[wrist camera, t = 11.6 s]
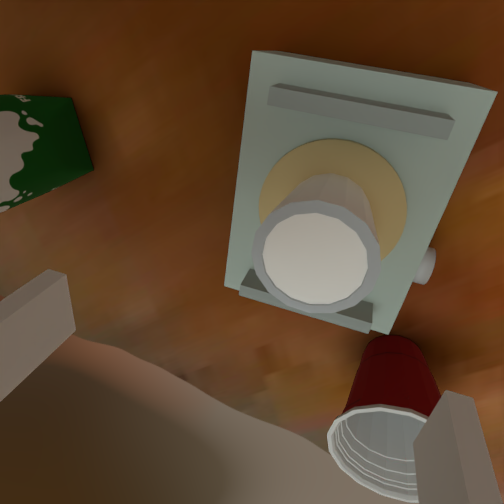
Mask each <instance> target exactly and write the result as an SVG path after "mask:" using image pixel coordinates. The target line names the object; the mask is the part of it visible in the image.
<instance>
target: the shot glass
mask: <svg viewBox="0 0 504 504" xmlns="http://www.w3.org/2000/svg"><path fill="white" fill-rule="evenodd" d="M251 255H252V259H253V264H254V268H255V272H256V275H257V276H258V278H259V279H260V281H261V282H262V284H263V285H264V286H265V288H266V289H267V291H268V292H269V293H270V294H272V295H273V296H274V297H276V298H277V299H279V300H280V301H281V302H283V303H284V304H285V305H287V306H289V307H293V308H296V309H299V310H302V311H305V312H308V313H335V312H338V311H341V310H344V309H347V308H350V307H353V306H355V305H356V304H358V303H359V302H360V301H361V300H362V299H363V298H365V297H366V296H367V295H368V294H369V293H370V292H371V291H372V290H373V288H374V286H375V283H376V281H377V279H378V276H379V274H380V272H381V258H380V245H379V241H378V237H377V233H376V228H375V224H374V220H373V216H372V212H371V207H370V203H369V200H368V199H367V197H366V195H365V193H364V191H363V190H362V188H361V187H360V186H359V185H357V184H356V183H355V182H353V181H352V180H351V179H349V178H348V177H345V176H341V175H337V174H333V173H327V174H319V175H314V176H312V177H310V178H308V179H307V180H305V181H303V182H301V183H300V184H299V185H298V186H297V187H296V188H295V189H294V190H293V191H292V192H291V193H290V194H289V195H288V196H287V197H286V198H285V199H284V200H283V201H282V202H281V203H280V204H279V205H278V206H277V207H276V208H275V209H274V210H273V211H272V212H271V213H270V214H269V215H268V216H267V218H266V219H265V220H264V222H263V223H262V224H261V226H260V227H259V228H258V229H257V231H256V232H255V236H254V241H253V246H252V251H251Z"/></svg>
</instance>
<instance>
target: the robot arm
mask: <svg viewBox="0 0 504 504" xmlns="http://www.w3.org/2000/svg"><path fill="white" fill-rule="evenodd" d="M75 331H76V328H75V323H74V317H73V311H72V305H71V300H70V294H69V288H68V283H67V277H66V274H63V273H60V272H56V271H53V270H50V269H47V270H46V271H44V272H43V273H41V274H40V275H38V276H37V277H35V278H34V279H33V280H31V281H30V282H28V283H27V284H25V285H24V286H22V287H21V288H19V289H18V290H16V291H15V292H13V293H12V294H10V295H9V296H7V297H6V298H4V299H3V300H2V301H0V402H1V401H2V400H3V399H4V398H5V397H6V396H7V395H8V394H9V393H10V392H11V391H12V390H13V389H14V388H15V387H16V386H17V385H19V384H20V383H21V382H22V381H23V380H24V379H25V378H26V377H27V376H28V375H29V374H30V373H31V372H32V371H33V370H34V369H35V368H36V367H38V366H39V365H40V364H41V363H42V362H43V361H44V360H45V359H46V358H47V357H48V356H49V355H50V354H51V353H52V352H53V351H54V350H56V348H58V347H59V346H60V345H61V344H62V343H63V342H64V341H65V340H66V339H67V338H68V337H69V336H70V335H71V334H72V333H74V332H75ZM413 449H414V460H415V470H416V480H417V491H418V501H419V504H503V502H502V499H501V495H500V492H499V488H498V485H497V481H496V478H495V474H494V470H493V467H492V463H491V460H490V456H489V453H488V449H487V446H486V442H485V438H484V435H483V431H482V428H481V424H480V421H479V417H478V414H477V410H476V407H475V403H474V399H473V398H471V397H468V396H465V395H461V394H458V393H455V392H451V391H448V390H445V392H444V393H443V395H442V397H441V398H440V400H439V401H438V403H437V405H436V406H435V408H434V410H433V411H432V413H431V414H430V416H429V418H428V419H427V421H426V423H425V424H424V426H423V427H422V429H421V431H420V432H419V434H418V435H417V437H416V439H415V440H414V442H413Z"/></svg>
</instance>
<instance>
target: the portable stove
mask: <svg viewBox="0 0 504 504" xmlns="http://www.w3.org/2000/svg"><path fill="white" fill-rule="evenodd" d="M496 95H497V92H496V91H493V90H490V89H487V88H484V87H481V86H478V85H475V84H472V83H468V82H462V81H456V80H450V79H444V78H438V77H432V76H426V75H420V74H414V73H408V72H402V71H396V70H390V69H384V68H378V67H372V66H366V65H360V64H354V63H348V62H342V61H336V60H330V59H324V58H318V57H312V56H306V55H300V54H294V53H288V52H282V51H252V57H251V66H250V74H249V82H248V91H247V99H246V108H245V116H244V124H243V133H242V141H241V149H240V158H239V166H238V174H237V183H236V191H235V200H234V208H233V216H232V225H231V233H230V241H229V250H228V258H227V266H226V275H225V283H224V286H226V287H229V288H233V289H236V290H239V295H240V296H243V297H247V298H250V299H253V300H257V301H260V302H263V303H267V304H270V305H273V306H277V307H280V308H283V309H287V310H290V311H293V312H297V313H300V314H303V315H307V316H310V317H313V318H317V319H320V320H323V321H327V322H330V323H333V324H337V325H340V326H343V327H347V328H350V329H353V330H357V331H360V332H364V333H367V334H368V333H369V331H370V329H371V330H374V331H377V332H381V333H384V334H387V335H389V332H390V330H391V328H392V326H393V324H394V321H395V319H396V317H397V315H398V312H399V310H400V308H401V306H402V304H403V301H404V299H405V297H406V295H407V292H408V290H409V288H410V286H411V284H412V282H415V283H419V284H423V285H424V284H426V283H427V281H428V280H429V278H430V276H431V274H432V271H433V268H434V265H435V260H436V250H435V249H434V248H430V247H428V246H429V244H430V241H431V239H432V237H433V235H434V232H435V230H436V228H437V226H438V224H439V221H440V219H441V217H442V215H443V212H444V210H445V208H446V206H447V204H448V201H449V199H450V197H451V195H452V192H453V190H454V188H455V186H456V184H457V181H458V179H459V177H460V175H461V172H462V170H463V168H464V166H465V164H466V161H467V159H468V157H469V155H470V152H471V150H472V148H473V146H474V143H475V141H476V139H477V137H478V135H479V132H480V130H481V128H482V126H483V123H484V121H485V119H486V117H487V115H488V112H489V110H490V108H491V106H492V103H493V101H494V99H495V97H496ZM327 173H333V174H337V175H341V176H345V177H348V178H349V179H351V180H352V181H353V182H355V183H356V184H357V185H359V186H360V187H361V188H362V190H363V191H364V193H365V195H366V197H367V199H368V200H369V203H370V207H371V212H372V216H373V220H374V224H375V228H376V233H377V237H378V241H379V245H380V258H381V272H380V274H379V276H378V279H377V281H376V283H375V286H374V288H373V290H372V291H371V292H370V293H369V294H368V295H367V296H366V297H365V298H363V299H362V300H361V301H360V302H359V303H358V304H356V305H355V306H353V307H350V308H347V309H344V310H341V311H338V312H335V313H308V312H305V311H302V310H299V309H296V308H293V307H289V306H287V305H285V304H284V303H283V302H281V301H280V300H279V299H277V298H276V297H274V296H273V295H272V294H270V293H269V292H268V291H267V289H266V288H265V286H264V285H263V284H262V282H261V281H260V279H259V278H258V276H257V275H256V272H255V268H254V264H253V259H252V255H251V251H252V246H253V241H254V236H255V232H256V231H257V229H258V228H259V227H260V226H261V224H262V223H263V222H264V220H265V219H266V218H267V216H268V215H269V214H270V213H271V212H272V211H273V210H274V209H275V208H276V207H277V206H278V205H279V204H280V203H281V202H282V201H283V200H284V199H285V198H286V197H287V196H288V195H289V194H290V193H291V192H292V191H293V190H294V189H295V188H296V187H297V186H298V185H299V184H300V183H301V182H303V181H305V180H307V179H308V178H310V177H312V176H314V175H319V174H327Z"/></svg>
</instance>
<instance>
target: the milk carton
mask: <svg viewBox="0 0 504 504" xmlns="http://www.w3.org/2000/svg"><path fill="white" fill-rule="evenodd" d="M93 170H94V169H93V166H92V163H91V159H90V156H89V153H88V150H87V147H86V143H85V140H84V137H83V134H82V131H81V128H80V124H79V121H78V118H77V115H76V112H75V108H74V105H73V102H72V99H71V98H65V97H47V96H30V95H0V213H1V212H3V211H5V210H8V209H10V208H12V207H15V206H17V205H19V204H22V203H24V202H26V201H29V200H31V199H33V198H36V197H38V196H40V195H43V194H45V193H47V192H49V191H51V190H54V189H56V188H58V187H60V186H62V185H64V184H66V183H68V182H70V181H72V180H74V179H76V178H78V177H80V176H82V175H84V174H86V173H88V172H91V171H93Z"/></svg>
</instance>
